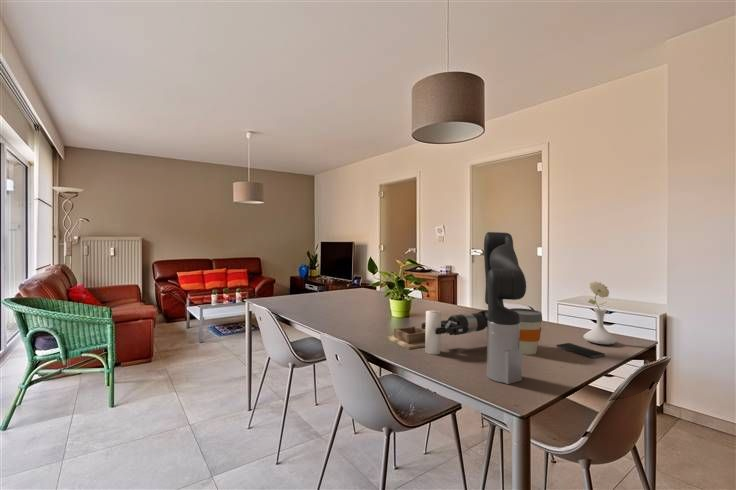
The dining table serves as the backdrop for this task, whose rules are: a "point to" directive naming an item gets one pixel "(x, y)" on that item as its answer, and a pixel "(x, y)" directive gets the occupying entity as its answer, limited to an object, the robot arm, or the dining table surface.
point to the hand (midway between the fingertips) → (428, 328)
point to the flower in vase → (599, 317)
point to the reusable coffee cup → (529, 330)
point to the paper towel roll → (432, 332)
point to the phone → (580, 350)
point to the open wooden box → (409, 337)
